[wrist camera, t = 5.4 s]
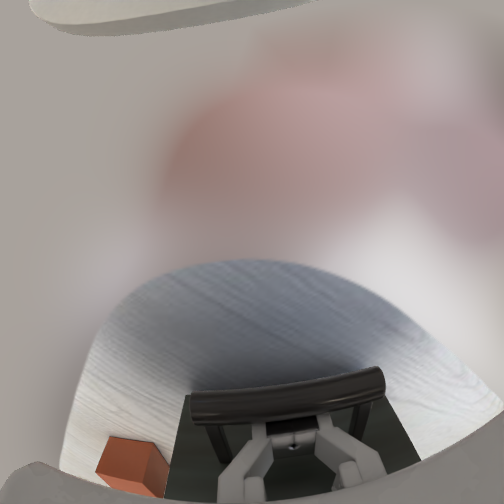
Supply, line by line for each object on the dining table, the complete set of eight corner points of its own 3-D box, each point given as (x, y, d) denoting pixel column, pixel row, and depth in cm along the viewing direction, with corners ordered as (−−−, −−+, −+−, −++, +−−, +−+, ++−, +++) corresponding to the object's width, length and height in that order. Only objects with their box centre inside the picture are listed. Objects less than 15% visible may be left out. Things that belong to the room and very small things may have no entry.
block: (109, 436, 17) (94, 472, 13) (153, 442, 17) (142, 483, 13) (129, 460, 18) (118, 494, 14) (169, 466, 18) (162, 502, 14)
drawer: (164, 330, 13) (110, 452, 6) (379, 303, 13) (466, 399, 6) (224, 483, 18) (222, 549, 10) (345, 467, 18) (364, 530, 10)
